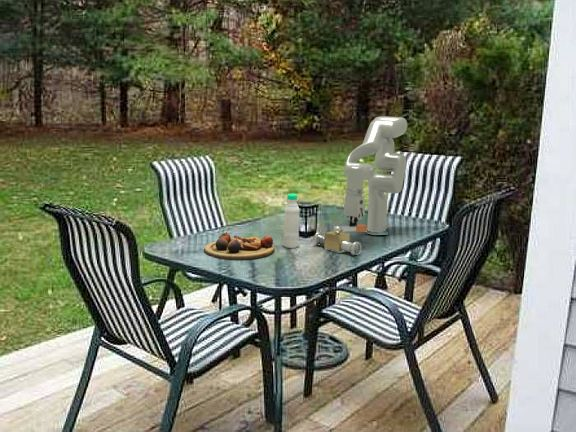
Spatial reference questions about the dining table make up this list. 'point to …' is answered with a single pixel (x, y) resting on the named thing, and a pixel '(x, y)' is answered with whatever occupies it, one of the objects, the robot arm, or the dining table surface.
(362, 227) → the valve lever
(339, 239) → the valve pipe
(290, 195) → the water bottle
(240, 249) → the wooden plate with food
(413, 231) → the dining table surface
